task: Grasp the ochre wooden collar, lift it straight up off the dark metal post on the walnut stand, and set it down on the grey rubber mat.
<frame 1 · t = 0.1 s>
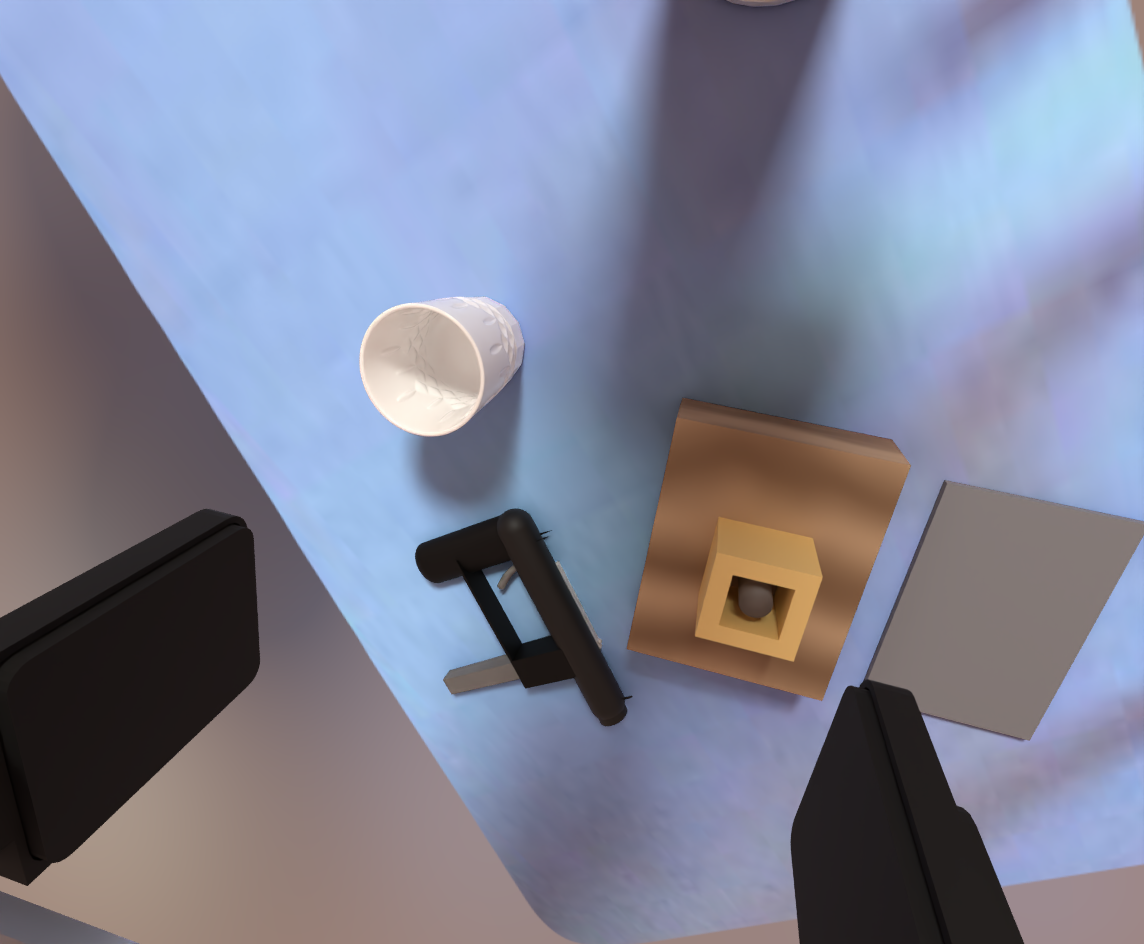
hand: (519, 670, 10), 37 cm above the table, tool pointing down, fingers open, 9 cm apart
white cup: (481, 342, 47), on the table
collar: (753, 567, 43), point 5 cm above the table, touching stand
stand: (751, 533, 47), on the table
door handle: (513, 621, 56), on the table
mat: (987, 614, 46), on the table
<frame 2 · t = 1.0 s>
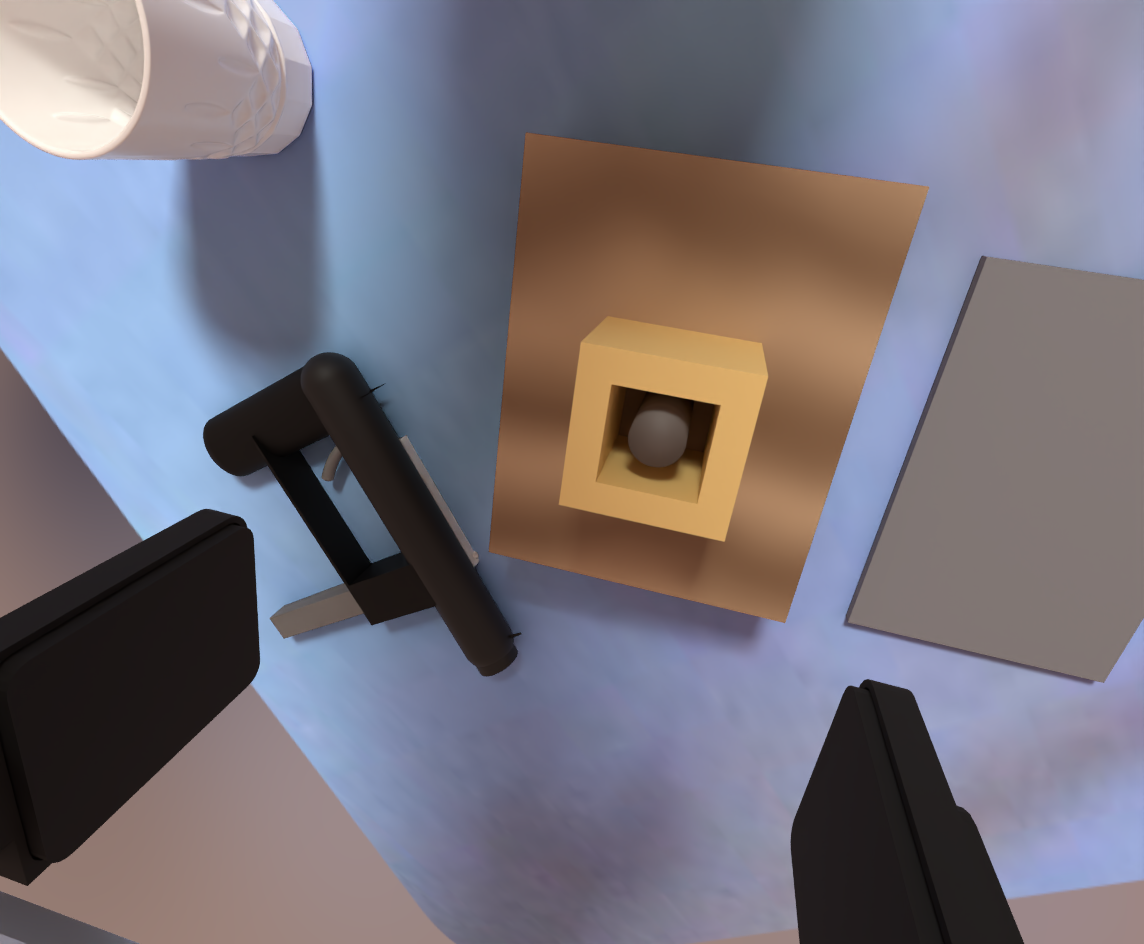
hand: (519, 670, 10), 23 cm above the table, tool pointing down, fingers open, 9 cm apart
white cup: (252, 76, 30), on the table
collar: (668, 402, 26), point 5 cm above the table, touching stand
stand: (678, 372, 31), on the table
door handle: (358, 533, 39), on the table
mat: (1045, 485, 29), on the table
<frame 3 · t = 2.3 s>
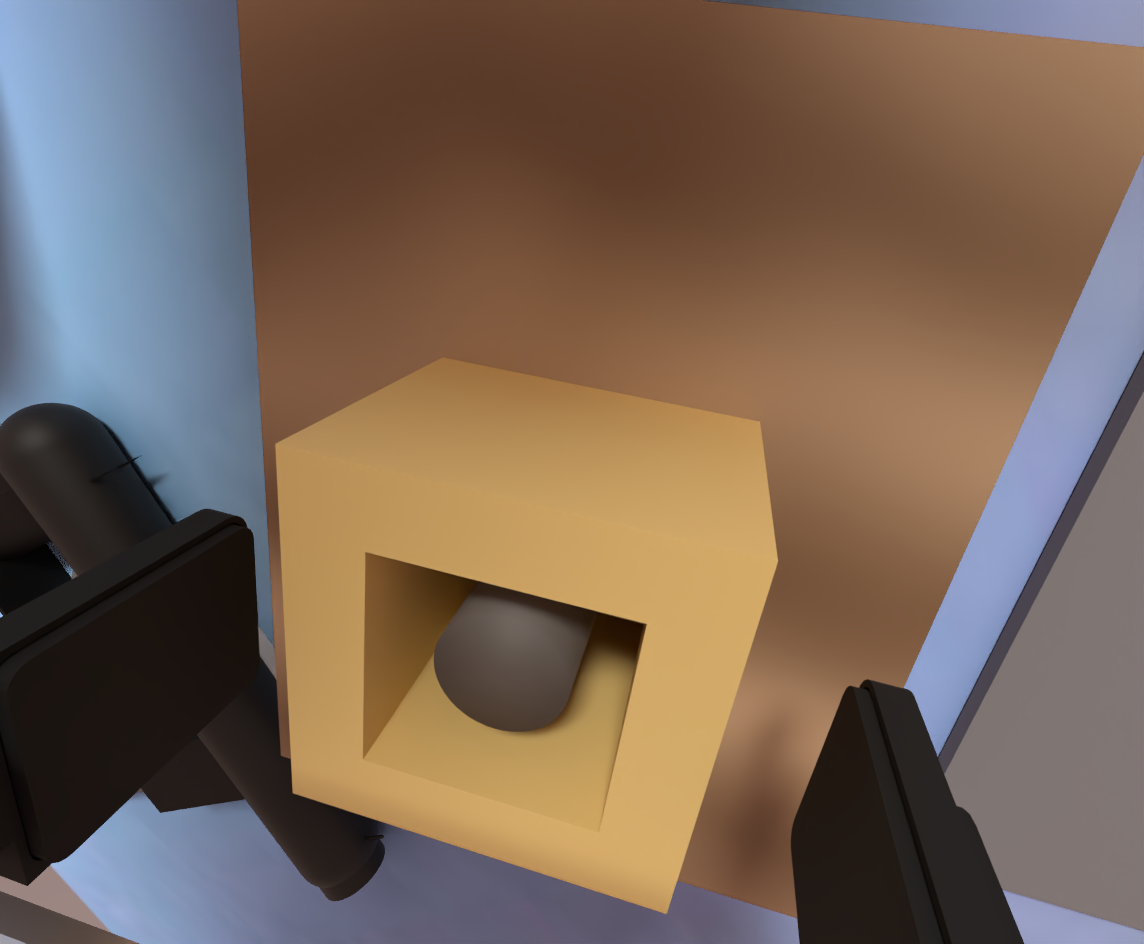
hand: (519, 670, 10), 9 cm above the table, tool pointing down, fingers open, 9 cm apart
collar: (572, 530, 13), point 5 cm above the table, touching stand
stand: (613, 447, 18), on the table
door handle: (154, 664, 26), on the table
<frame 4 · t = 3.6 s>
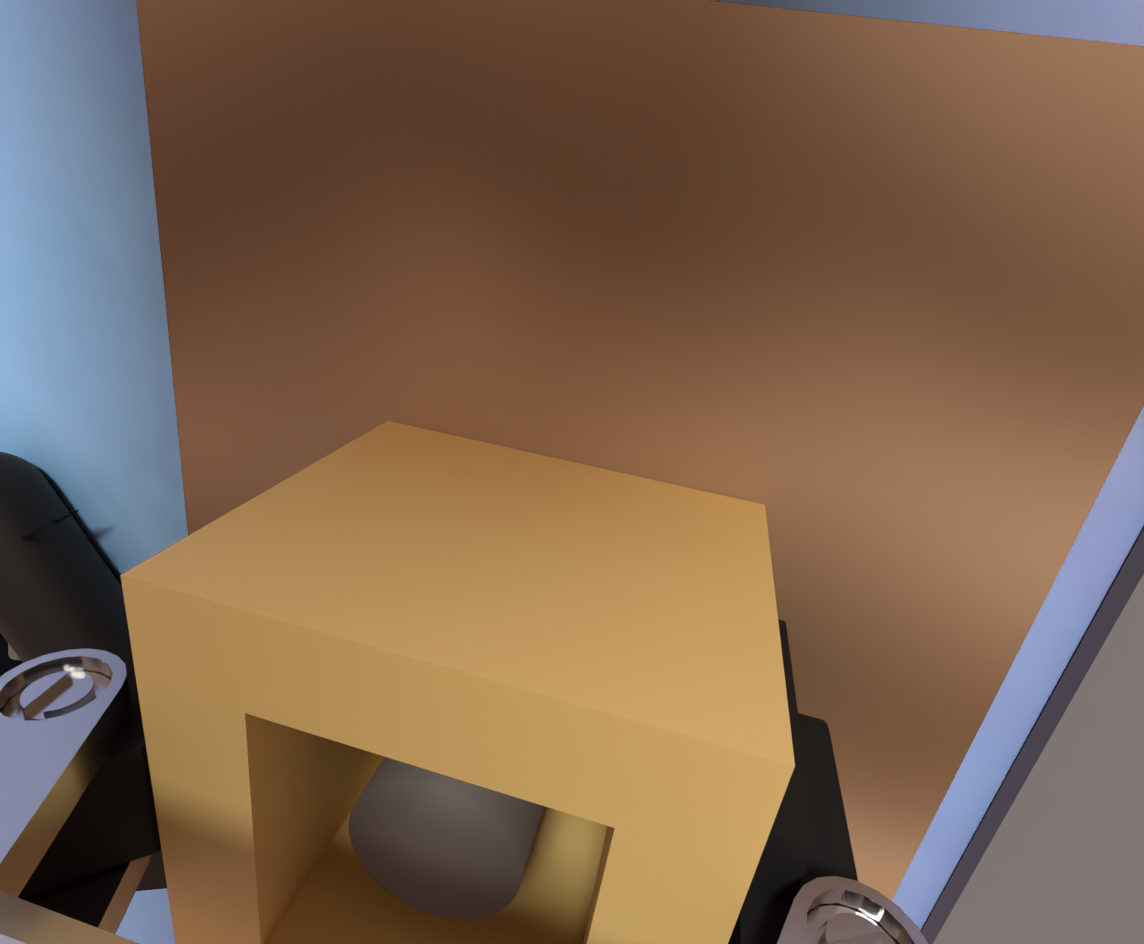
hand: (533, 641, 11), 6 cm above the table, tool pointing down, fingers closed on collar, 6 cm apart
collar: (542, 621, 11), point 5 cm above the table, touching gripper, stand
stand: (597, 505, 16), on the table
door handle: (104, 725, 24), on the table
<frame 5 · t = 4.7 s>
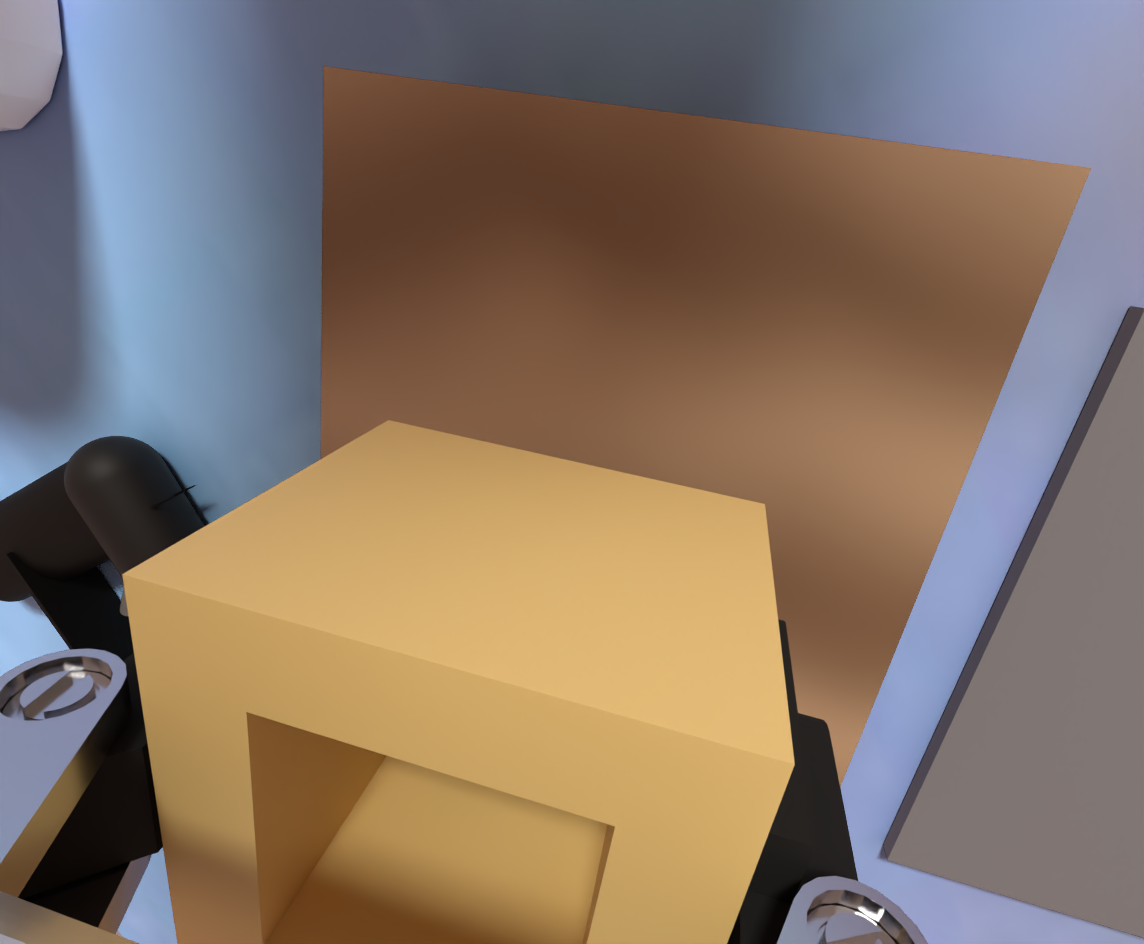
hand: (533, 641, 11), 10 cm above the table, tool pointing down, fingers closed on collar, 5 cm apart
collar: (543, 620, 11), point 9 cm above the table, touching gripper
stand: (624, 475, 20), on the table
door handle: (189, 680, 28), on the table
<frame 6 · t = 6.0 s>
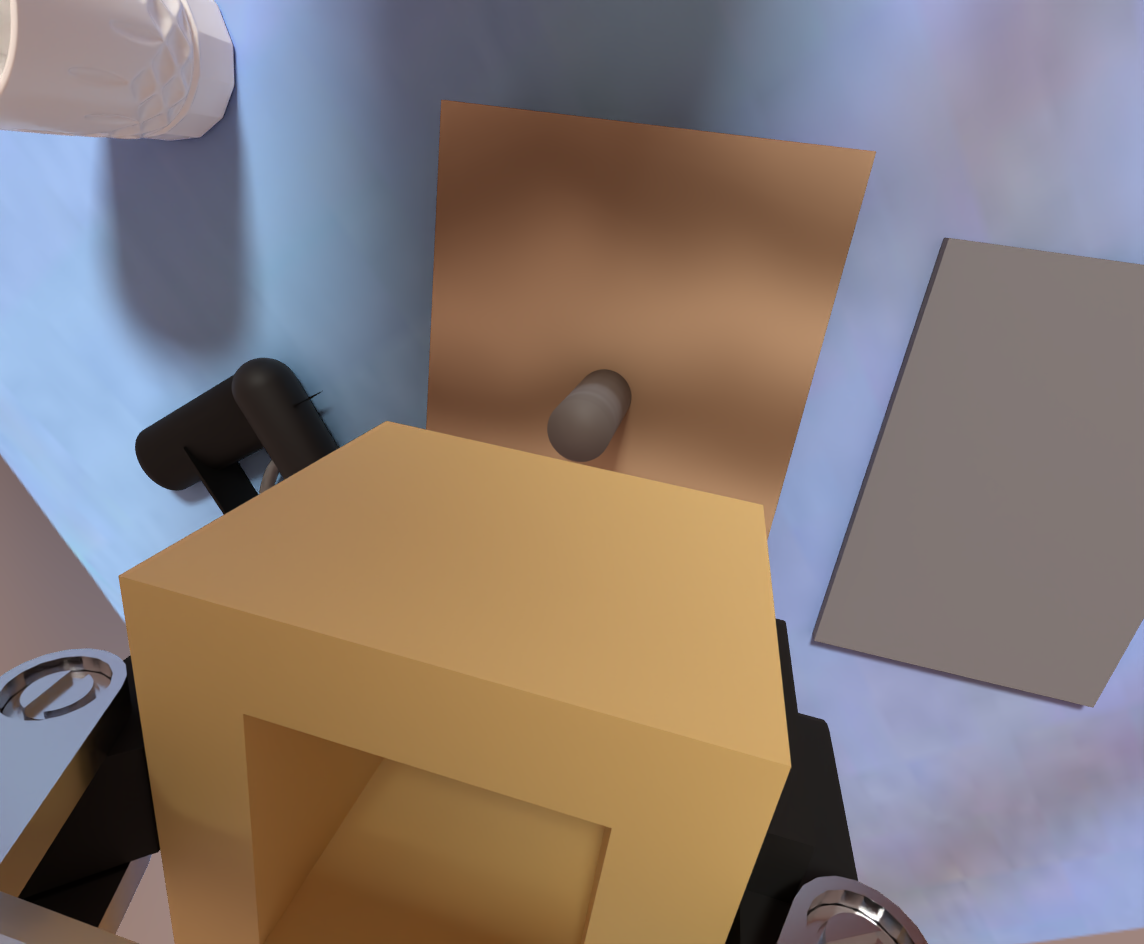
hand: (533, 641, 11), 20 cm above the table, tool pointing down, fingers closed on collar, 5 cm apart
white cup: (173, 56, 28), on the table
collar: (541, 621, 11), point 19 cm above the table, touching gripper
stand: (624, 368, 29), on the table
door handle: (302, 551, 37), on the table
mat: (1021, 489, 27), on the table
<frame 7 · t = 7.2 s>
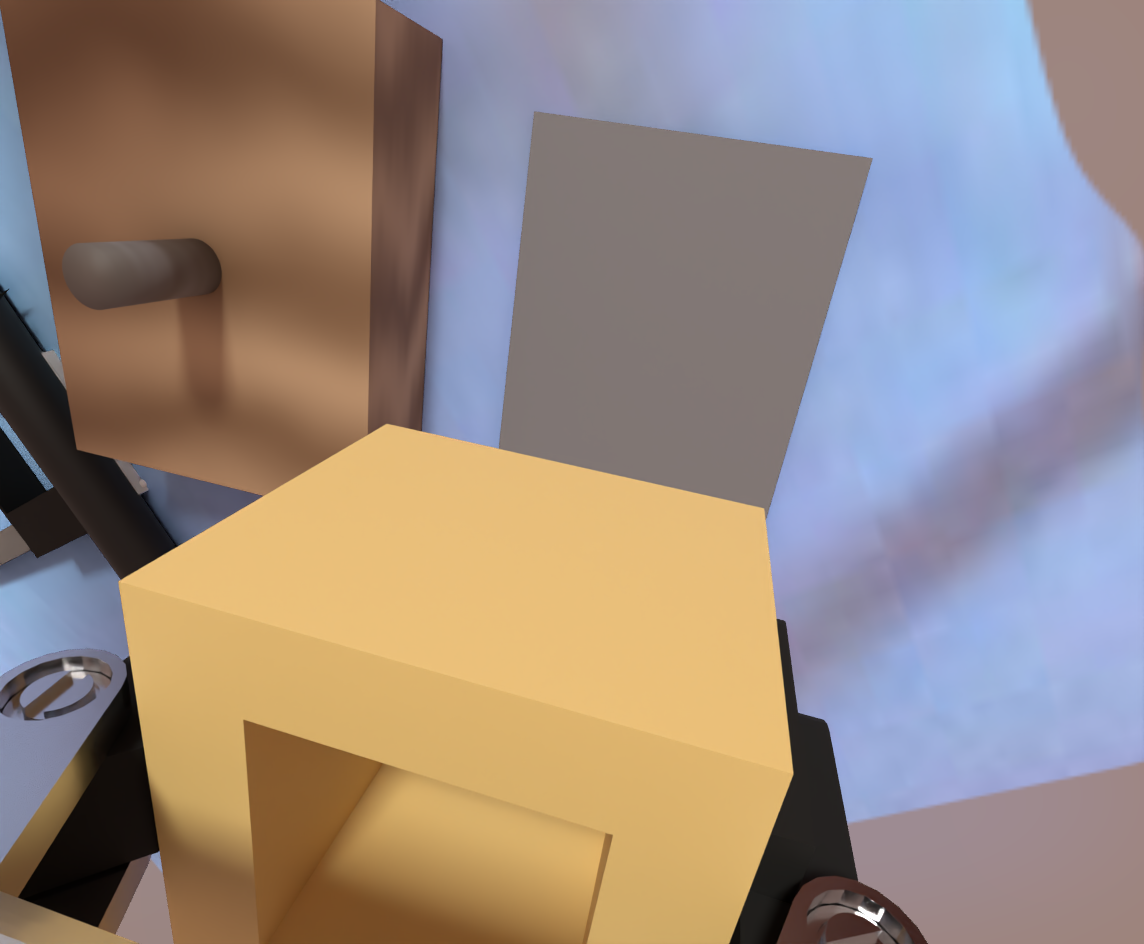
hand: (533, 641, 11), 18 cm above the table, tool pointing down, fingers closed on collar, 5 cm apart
collar: (542, 624, 11), point 18 cm above the table, touching gripper
stand: (281, 258, 29), on the table
door handle: (38, 463, 37), on the table
mat: (650, 376, 27), on the table
when the fingers open (3 cm above the table, at t = 10.1 s): collar drops 2 cm, resting on mat.
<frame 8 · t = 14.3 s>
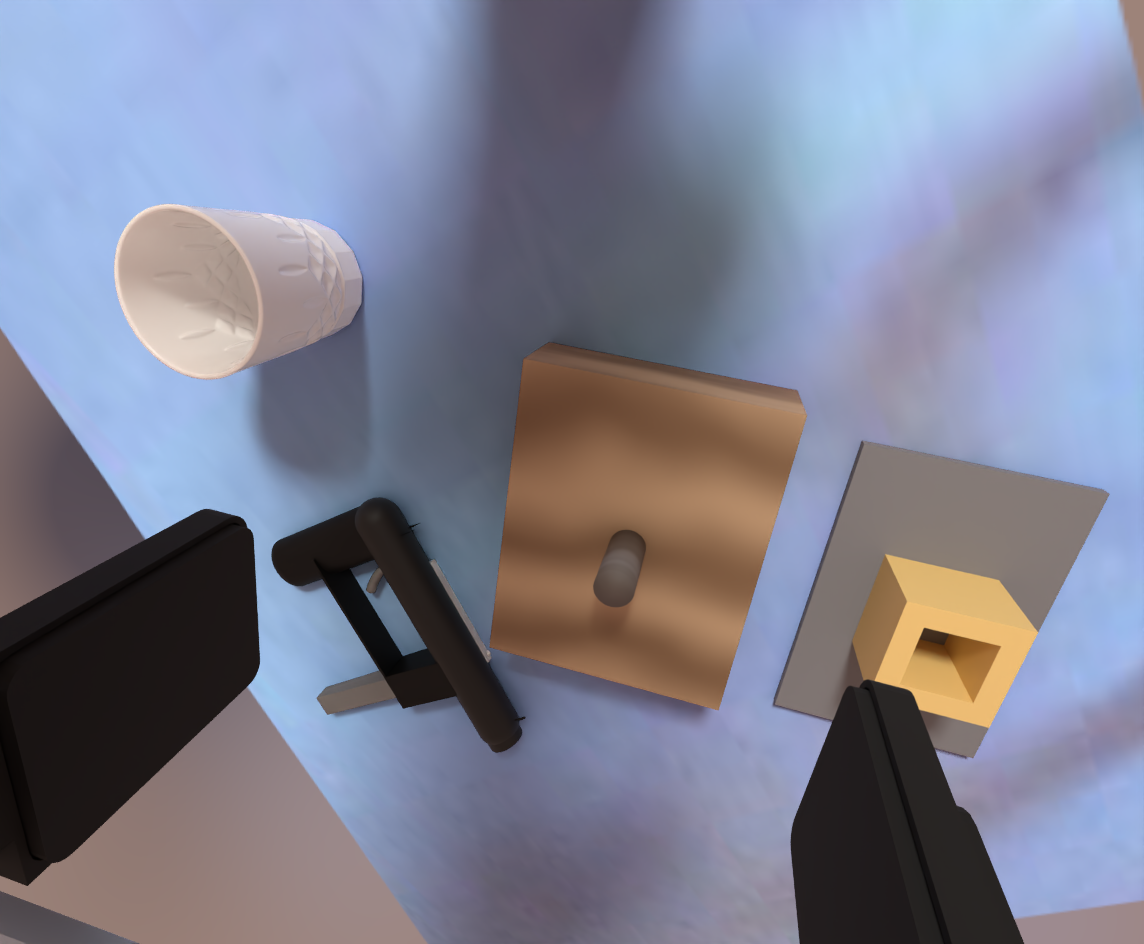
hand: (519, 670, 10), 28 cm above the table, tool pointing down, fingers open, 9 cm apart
white cup: (315, 279, 39), on the table
collar: (922, 611, 37), point 1 cm above the table, touching mat
stand: (639, 509, 39), on the table
door handle: (392, 630, 48), on the table
mat: (919, 606, 38), on the table
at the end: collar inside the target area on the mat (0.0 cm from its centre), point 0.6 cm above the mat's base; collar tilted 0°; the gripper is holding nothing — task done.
